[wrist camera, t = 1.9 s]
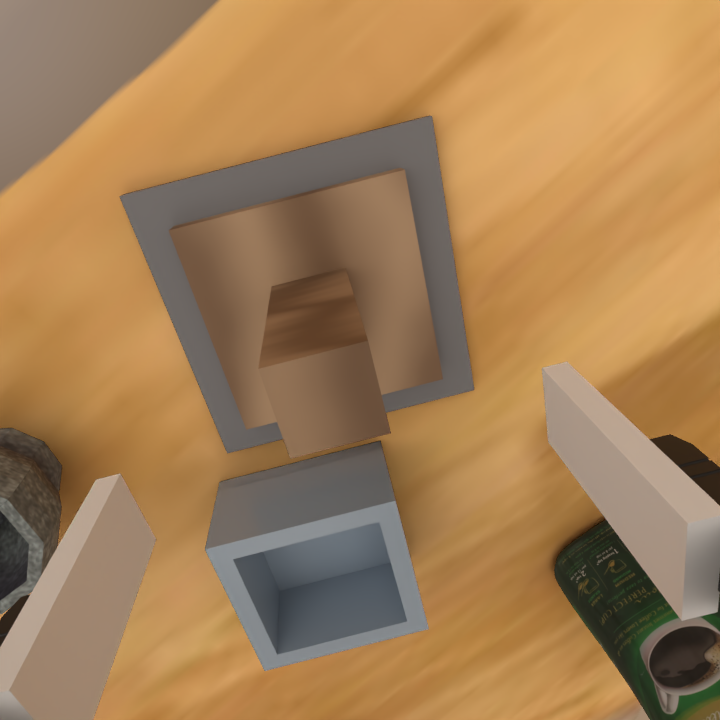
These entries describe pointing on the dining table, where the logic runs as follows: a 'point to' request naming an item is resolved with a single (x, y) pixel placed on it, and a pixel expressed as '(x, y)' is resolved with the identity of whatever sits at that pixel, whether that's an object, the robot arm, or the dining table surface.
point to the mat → (286, 178)
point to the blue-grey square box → (315, 556)
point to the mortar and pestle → (26, 513)
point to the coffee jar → (642, 628)
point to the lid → (316, 307)
